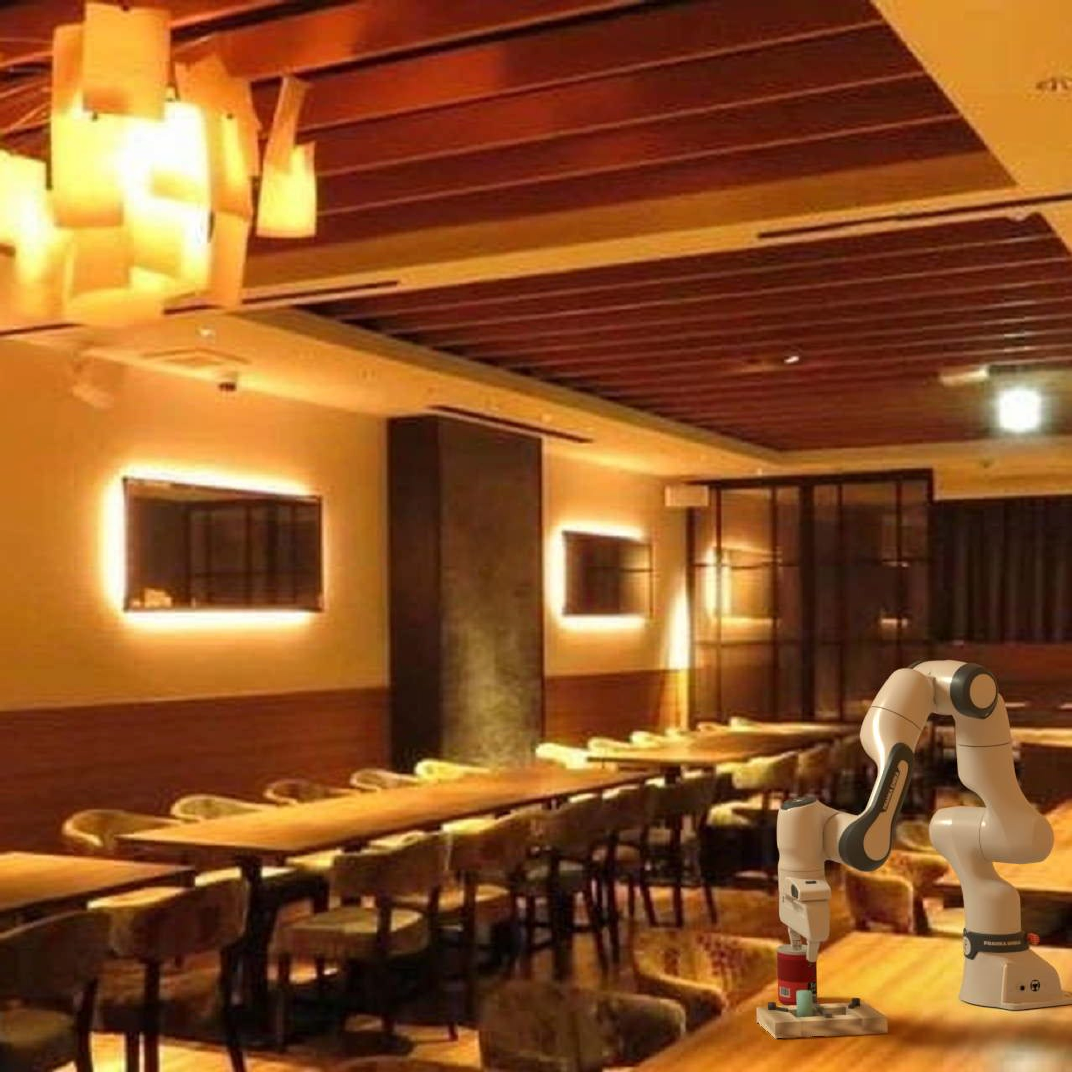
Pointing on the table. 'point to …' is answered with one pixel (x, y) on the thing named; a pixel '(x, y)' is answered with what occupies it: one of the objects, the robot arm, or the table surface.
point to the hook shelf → (822, 1020)
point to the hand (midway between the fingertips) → (804, 955)
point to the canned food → (794, 973)
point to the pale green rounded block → (804, 1003)
